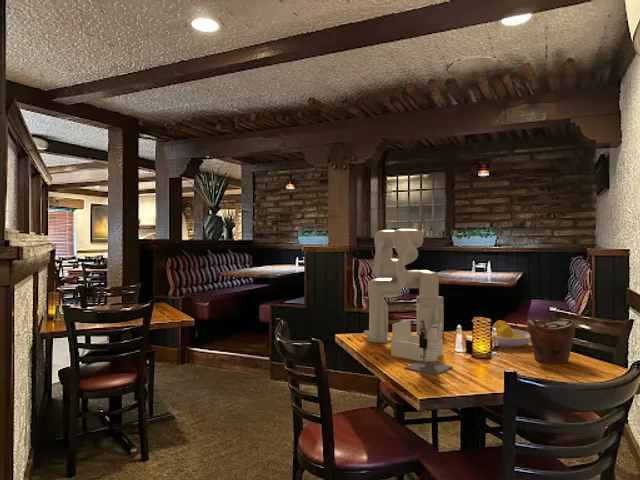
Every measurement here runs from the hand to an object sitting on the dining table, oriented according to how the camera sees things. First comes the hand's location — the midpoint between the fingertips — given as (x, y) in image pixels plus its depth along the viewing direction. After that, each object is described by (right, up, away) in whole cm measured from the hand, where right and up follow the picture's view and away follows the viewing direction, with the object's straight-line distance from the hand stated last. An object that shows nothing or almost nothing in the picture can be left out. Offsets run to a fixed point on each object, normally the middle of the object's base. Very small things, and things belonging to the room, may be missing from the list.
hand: (428, 346), depth 188 cm
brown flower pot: (+56, -9, +14) cm, 58 cm away
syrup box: (0, -6, 0) cm, 6 cm away
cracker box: (+16, -9, +68) cm, 70 cm away
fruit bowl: (+47, -9, +45) cm, 66 cm away
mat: (0, -9, 0) cm, 9 cm away
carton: (0, -9, +21) cm, 23 cm away
